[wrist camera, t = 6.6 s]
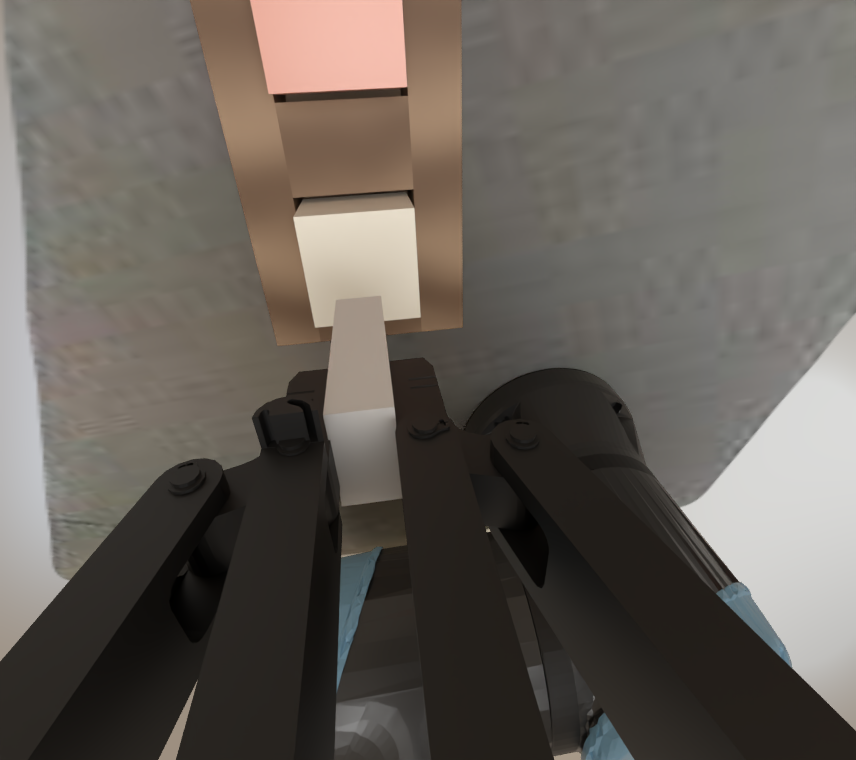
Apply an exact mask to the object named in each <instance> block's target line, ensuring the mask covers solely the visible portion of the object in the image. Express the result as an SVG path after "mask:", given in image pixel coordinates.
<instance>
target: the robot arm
mask: <svg viewBox="0 0 856 760" xmlns="http://www.w3.org/2000/svg"><path fill="white" fill-rule="evenodd" d="M252 420H253V423H254V426H255V429H256V432H257V436H258V439H259V442H260V445H261V448H262V449H261V453H260V456H259V457H257V458H256V459H254V460H252V461H250V462H247V463H245V464H242V465H239V466H236V467H233V468H230V469H227V470H224V471H223V469H222V466H221V465H220V464H219V463H218V462H216V461H215V460H210V459H205V458H204V459H193V460H189V461H186V462H183V463H180V464H178V465H176V466H174V467H172V468H171V469H169V470H167V471H166V472H164V473H163V474H162V475H161V476H160V477H159V478H158V479H157V480H156V481H155V482H154V483H153V484H152V485H151V487H150V488H149V489H148V490H147V491H146V492H145V494H144V495H143V496H142V497H141V498H140V499H139V501H138V502H137V503H136V504H135V505H134V506H133V508H132V509H131V510H130V511H129V512H128V513H127V515H126V516H125V517H124V518H123V519H122V520H121V522H120V523H119V524H118V525H117V526H116V527H115V529H114V530H113V531H112V532H111V533H110V534H109V535H108V537H107V538H106V539H105V540H104V541H103V542H102V544H101V545H100V546H99V547H98V548H97V549H96V551H95V552H94V553H93V554H92V555H91V556H90V558H89V559H88V560H87V561H86V562H85V563H84V565H83V566H82V567H81V568H80V569H79V570H78V572H77V573H76V574H75V575H74V576H73V577H72V579H71V580H70V581H69V582H68V583H67V584H66V586H65V587H64V588H63V589H62V591H61V592H60V593H59V594H58V595H57V596H56V597H55V599H54V600H53V601H52V602H51V603H50V604H49V605H48V607H47V608H46V609H45V610H44V611H43V612H42V614H41V615H40V616H39V617H38V618H37V619H36V621H35V622H34V623H33V624H32V625H31V626H30V628H29V629H28V630H27V631H26V632H25V633H24V635H23V636H22V637H21V638H20V639H19V641H18V642H17V643H16V644H15V645H14V646H13V647H12V649H11V650H10V651H9V652H8V653H7V654H6V656H5V657H4V658H3V659H2V660H1V661H0V760H158V759H159V757H160V755H161V753H162V751H163V749H164V747H165V745H166V743H167V741H168V739H169V737H170V735H171V733H172V730H173V729H174V726H175V725H176V722H177V720H178V718H179V716H180V714H181V712H182V710H183V708H184V706H185V704H186V702H187V700H188V698H189V696H190V694H191V692H192V690H193V688H194V686H195V684H196V682H197V680H198V682H197V685H196V689H195V692H194V696H193V700H192V703H191V707H190V711H189V714H188V718H187V722H186V725H185V729H184V732H183V736H182V740H181V743H180V747H179V750H178V754H177V758H176V760H554V757H553V756H557V755H562V754H567V753H572V752H579V753H581V760H856V731H855V730H854V729H853V728H852V727H851V726H850V725H849V724H848V723H847V722H846V721H845V720H844V719H843V718H842V717H841V716H840V715H839V714H838V713H837V712H836V711H835V710H834V709H833V708H832V707H831V706H830V705H829V704H828V703H827V702H826V701H825V700H824V699H823V698H822V697H821V696H820V695H819V694H818V693H817V692H816V691H815V690H814V689H813V688H812V687H811V686H809V685H808V684H807V683H806V682H805V681H804V680H803V679H802V678H801V677H800V676H799V675H798V674H797V673H796V672H795V671H794V670H793V669H792V664H791V660H790V657H789V654H788V652H787V650H786V648H785V646H784V644H783V643H782V641H781V640H780V638H779V637H778V636H777V634H776V633H775V631H774V630H773V628H772V627H771V625H770V624H769V622H768V621H767V620H766V618H765V617H764V615H763V614H762V612H761V611H760V609H759V608H758V606H757V605H756V603H755V602H754V600H753V599H752V597H751V593H750V591H749V589H748V588H747V587H746V586H745V585H744V584H742V583H741V582H739V581H738V580H737V579H736V577H735V576H734V575H733V574H732V572H731V571H730V570H729V569H728V568H727V566H726V565H725V564H724V563H723V561H722V560H721V559H720V558H719V556H718V555H717V554H716V553H715V551H714V550H713V549H712V548H711V547H710V545H709V544H708V543H707V541H706V540H705V539H704V538H703V536H702V535H701V534H700V533H699V532H698V530H697V529H696V528H695V526H694V525H693V524H692V523H691V521H690V520H689V519H688V518H687V516H686V515H685V514H684V513H683V512H682V510H681V509H680V507H679V506H678V505H677V504H676V502H675V501H674V500H673V499H672V497H671V496H670V495H669V494H668V492H667V491H666V490H665V489H664V487H663V486H662V485H661V484H660V483H659V481H658V480H657V479H656V478H655V476H654V475H653V474H652V472H651V471H650V470H649V469H648V467H647V466H646V463H645V459H644V456H643V452H642V449H641V445H640V442H639V439H638V435H637V432H636V428H635V425H634V421H633V418H632V416H631V413H630V411H629V409H628V408H627V406H626V404H625V403H624V402H623V401H622V399H621V398H620V397H619V396H618V395H617V394H616V392H615V391H614V390H613V389H612V388H611V387H610V386H609V385H608V384H607V383H606V382H605V381H603V380H602V379H600V378H598V377H597V376H595V375H592V374H590V373H587V372H584V371H579V370H573V369H549V370H543V371H538V372H534V373H531V374H528V375H525V376H522V377H520V378H517V379H515V380H513V381H511V382H509V383H508V384H506V385H504V386H503V387H501V388H499V389H498V390H497V391H495V392H494V393H493V394H491V395H490V396H489V397H488V398H487V399H486V400H485V401H484V402H483V403H482V404H481V405H480V406H479V407H478V408H477V410H476V411H475V412H474V414H473V415H472V417H471V418H470V420H469V422H468V424H467V426H466V428H465V431H463V430H460V429H459V428H457V427H455V425H454V423H453V422H452V420H451V419H450V418H448V417H447V414H446V411H445V407H444V404H443V400H442V397H441V393H440V390H439V386H438V383H437V379H436V376H435V372H434V369H433V366H432V365H431V364H430V363H429V362H428V361H426V360H425V359H424V358H415V359H405V360H396V361H389V358H388V350H387V341H386V333H385V325H384V316H383V308H382V300H381V296H372V297H362V298H351V299H340V300H336V304H335V313H334V322H333V331H332V340H331V348H330V357H329V366H328V369H322V370H313V371H303V372H299V373H298V374H297V375H296V376H295V377H294V378H293V379H292V380H291V381H290V382H289V385H288V389H287V395H286V397H283V398H278V399H275V400H273V401H271V402H268V403H266V404H264V405H263V406H262V407H260V408H259V409H258V410H257V411H256V412H255V414H254V415H253V417H252ZM339 498H340V499H341V503H342V506H350V505H357V504H365V503H373V502H380V501H388V500H395V499H402V500H403V509H404V519H405V528H406V537H407V545H405V546H399V547H392V548H386V549H383V547H376V548H374V549H373V550H372V551H370V552H365V553H361V554H356V555H351V556H347V557H342V558H341V546H342V521H341V516H340V512H339ZM485 526H489V529H490V531H491V532H486V529H485Z"/></svg>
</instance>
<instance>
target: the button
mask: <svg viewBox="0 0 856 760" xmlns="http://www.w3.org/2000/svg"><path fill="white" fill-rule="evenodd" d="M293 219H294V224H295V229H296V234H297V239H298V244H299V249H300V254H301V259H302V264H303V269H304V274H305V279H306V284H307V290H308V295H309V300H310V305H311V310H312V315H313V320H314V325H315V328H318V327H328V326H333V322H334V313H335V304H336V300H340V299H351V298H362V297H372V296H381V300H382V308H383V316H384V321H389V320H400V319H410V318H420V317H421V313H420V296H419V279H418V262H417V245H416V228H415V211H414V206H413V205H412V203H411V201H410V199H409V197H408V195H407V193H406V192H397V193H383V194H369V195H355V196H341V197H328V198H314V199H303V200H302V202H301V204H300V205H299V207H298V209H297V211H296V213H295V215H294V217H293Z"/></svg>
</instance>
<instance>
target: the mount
mask: <svg viewBox="0 0 856 760" xmlns="http://www.w3.org/2000/svg"><path fill="white" fill-rule="evenodd" d="M190 2H191V6H192V10H193V14H194V18H195V22H196V26H197V30H198V34H199V38H200V42H201V46H202V50H203V54H204V58H205V62H206V65H207V69H208V73H209V77H210V81H211V85H212V89H213V93H214V97H215V101H216V105H217V109H218V113H219V117H220V121H221V125H222V129H223V132H224V136H225V140H226V144H227V148H228V152H229V156H230V160H231V164H232V168H233V172H234V176H235V180H236V184H237V188H238V192H239V196H240V199H241V203H242V207H243V211H244V215H245V219H246V223H247V227H248V231H249V235H250V239H251V243H252V247H253V251H254V255H255V259H256V263H257V266H258V270H259V274H260V278H261V282H262V286H263V290H264V294H265V298H266V302H267V306H268V310H269V314H270V318H271V322H272V326H273V330H274V333H275V337H276V341H277V345H278V346H283V345H293V344H303V343H313V342H323V341H331V340H332V331H333V326H328V327H318V328H315V325H314V320H313V315H312V310H311V305H310V300H309V295H308V290H307V284H306V279H305V274H304V269H303V264H302V259H301V254H300V249H299V244H298V239H297V234H296V229H295V224H294V219H293V217H294V215H295V213H296V211H297V209H298V207H299V205H300V204H301V202H302V200H303V199H314V198H328V197H341V196H355V195H369V194H383V193H397V192H406V193H407V195H408V197H409V199H410V201H411V203H412V205H413V206H414V211H415V228H416V245H417V262H418V279H419V296H420V313H421V317H420V318H410V319H400V320H389V321H384V325H385V333H386V335H393V334H403V333H413V332H423V331H433V330H443V329H453V328H463V288H462V40H461V0H402V6H403V23H404V40H405V57H406V74H407V87H405V88H400V89H386V90H366V91H347V92H328V93H309V94H289V95H277V94H269V93H268V88H267V83H266V78H265V73H264V68H263V63H262V58H261V53H260V48H259V43H258V38H257V32H256V27H255V22H254V17H253V12H252V7H251V2H250V0H190Z"/></svg>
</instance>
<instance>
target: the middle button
mask: <svg viewBox="0 0 856 760" xmlns="http://www.w3.org/2000/svg"><path fill="white" fill-rule="evenodd" d="M250 2H251V7H252V12H253V17H254V22H255V27H256V32H257V38H258V43H259V48H260V53H261V58H262V63H263V68H264V73H265V78H266V83H267V88H268V93H269V94H277V95H289V94H309V93H328V92H347V91H366V90H386V89H400V88H405V87H407V74H406V57H405V40H404V23H403V6H402V0H250Z"/></svg>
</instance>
